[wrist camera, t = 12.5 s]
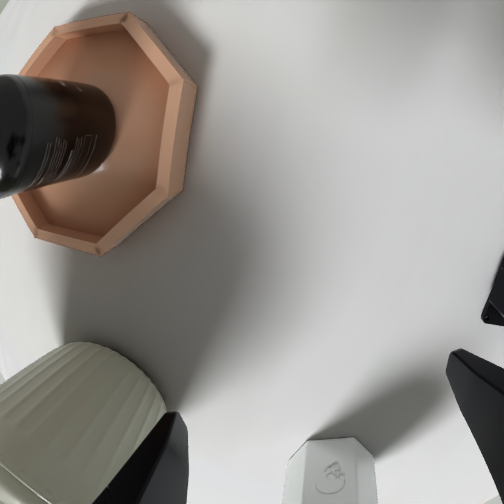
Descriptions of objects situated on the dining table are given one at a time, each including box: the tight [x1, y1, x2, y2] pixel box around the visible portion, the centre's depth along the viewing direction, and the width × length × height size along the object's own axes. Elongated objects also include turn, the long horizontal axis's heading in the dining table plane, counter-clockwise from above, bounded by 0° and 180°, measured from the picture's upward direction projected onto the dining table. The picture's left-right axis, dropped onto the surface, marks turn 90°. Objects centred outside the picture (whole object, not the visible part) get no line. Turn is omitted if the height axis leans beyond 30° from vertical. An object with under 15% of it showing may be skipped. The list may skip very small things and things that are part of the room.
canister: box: [0, 341, 167, 504], centre depth 18 cm, size 18×18×21 cm
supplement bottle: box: [0, 74, 116, 199], centre depth 14 cm, size 7×7×12 cm
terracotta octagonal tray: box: [12, 12, 198, 256], centre depth 19 cm, size 17×17×2 cm
